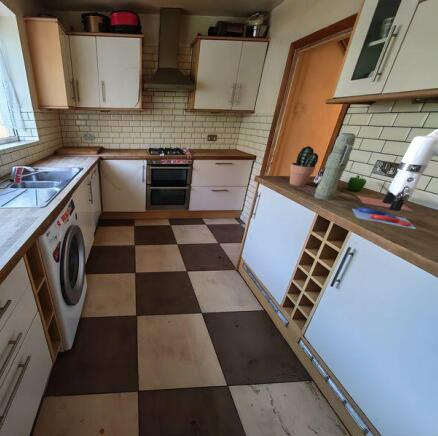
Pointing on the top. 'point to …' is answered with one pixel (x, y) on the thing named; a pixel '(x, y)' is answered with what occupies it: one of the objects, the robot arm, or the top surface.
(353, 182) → the bell pepper
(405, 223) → the red spoon
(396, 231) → the top surface
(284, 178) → the top surface
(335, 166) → the stone statue
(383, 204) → the red mat
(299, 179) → the potted plant
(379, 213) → the blue spoon
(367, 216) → the blue mat
